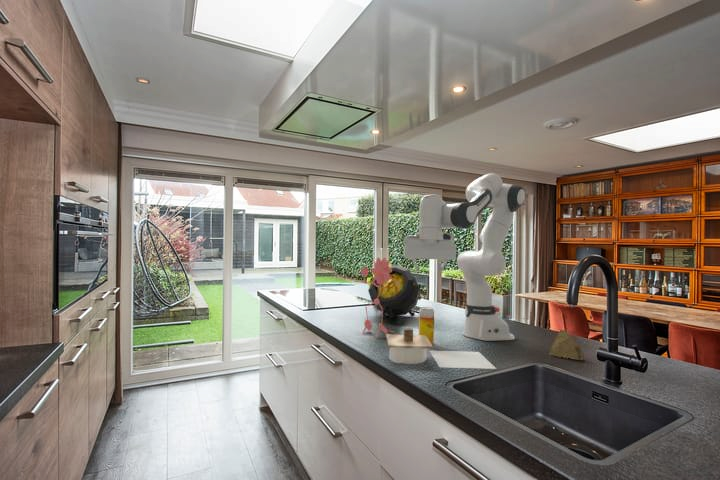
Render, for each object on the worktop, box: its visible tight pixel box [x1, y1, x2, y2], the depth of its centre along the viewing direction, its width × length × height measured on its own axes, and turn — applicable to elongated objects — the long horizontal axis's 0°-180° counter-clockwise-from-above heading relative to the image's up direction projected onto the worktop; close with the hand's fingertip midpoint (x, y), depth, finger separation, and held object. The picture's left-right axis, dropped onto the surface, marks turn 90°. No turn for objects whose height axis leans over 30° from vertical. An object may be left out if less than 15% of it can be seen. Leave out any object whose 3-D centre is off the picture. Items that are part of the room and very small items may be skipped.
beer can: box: [418, 306, 435, 345], centre depth 153 cm, size 6×6×15 cm
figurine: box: [360, 256, 399, 339], centre depth 169 cm, size 15×26×35 cm, turn 39°
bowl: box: [388, 348, 428, 365], centre depth 133 cm, size 13×13×6 cm
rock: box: [548, 328, 585, 361], centre depth 139 cm, size 11×9×10 cm
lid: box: [385, 327, 434, 350], centre depth 133 cm, size 15×15×5 cm
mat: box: [429, 350, 497, 370], centre depth 133 cm, size 19×19×1 cm
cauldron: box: [368, 264, 422, 321], centre depth 209 cm, size 28×28×24 cm
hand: (429, 270), depth 144 cm, fingers open, 8 cm apart
